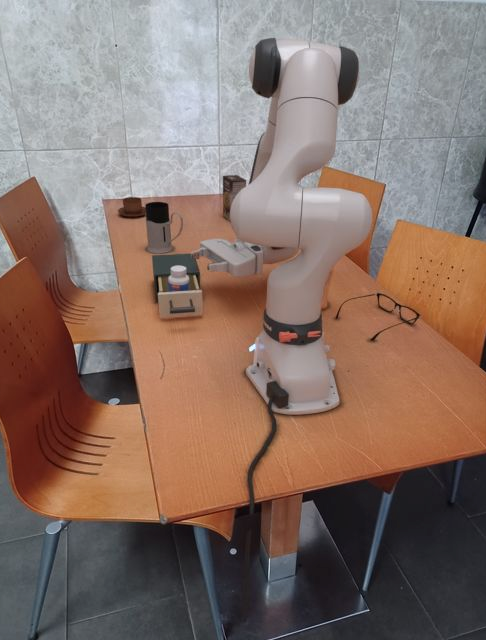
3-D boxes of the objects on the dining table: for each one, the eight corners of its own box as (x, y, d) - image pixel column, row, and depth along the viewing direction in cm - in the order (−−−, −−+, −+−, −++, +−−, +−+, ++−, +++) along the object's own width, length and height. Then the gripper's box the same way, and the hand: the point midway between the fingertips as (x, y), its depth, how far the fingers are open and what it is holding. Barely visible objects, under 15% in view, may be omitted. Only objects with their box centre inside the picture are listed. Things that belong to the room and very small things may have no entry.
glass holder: (157, 242, 176) (154, 199, 168) (191, 250, 171) (189, 206, 163) (141, 250, 170) (137, 205, 162) (176, 258, 164) (173, 212, 156)
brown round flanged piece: (117, 211, 207) (115, 196, 204) (146, 209, 211) (145, 194, 207) (119, 220, 198) (118, 204, 194) (150, 218, 201) (149, 202, 198)
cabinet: (200, 299, 138) (199, 272, 134) (155, 302, 136) (153, 274, 131) (195, 279, 150) (194, 253, 145) (154, 281, 148) (151, 255, 143)
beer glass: (328, 311, 133) (334, 258, 125) (302, 309, 134) (307, 256, 126) (330, 300, 139) (336, 249, 131) (305, 298, 140) (309, 246, 132)
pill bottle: (170, 308, 129) (168, 273, 124) (168, 299, 133) (165, 265, 128) (191, 306, 130) (190, 271, 125) (188, 297, 135) (186, 263, 130)
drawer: (205, 326, 123) (205, 302, 120) (160, 329, 121) (158, 305, 118) (197, 293, 139) (196, 271, 136) (157, 295, 137) (155, 273, 134)
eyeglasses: (421, 328, 126) (424, 314, 124) (375, 344, 119) (378, 329, 117) (375, 303, 138) (377, 290, 136) (330, 316, 131) (332, 302, 129)
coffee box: (222, 216, 205) (222, 175, 196) (236, 214, 207) (237, 174, 199) (231, 222, 198) (231, 180, 189) (245, 220, 200) (246, 179, 192)
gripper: (227, 230, 142) (182, 238, 135) (266, 253, 127) (218, 263, 121) (227, 251, 145) (183, 260, 139) (265, 276, 130) (218, 287, 124)
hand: (200, 261), depth 129 cm, fingers open, 8 cm apart
